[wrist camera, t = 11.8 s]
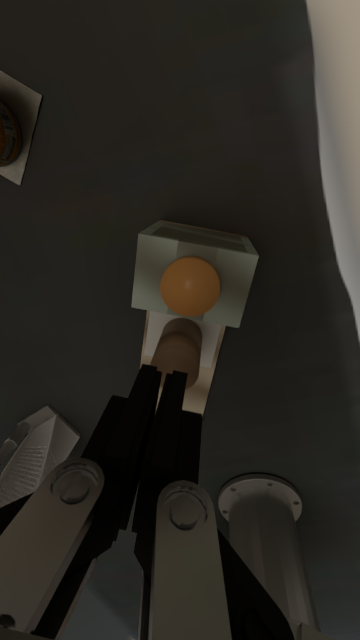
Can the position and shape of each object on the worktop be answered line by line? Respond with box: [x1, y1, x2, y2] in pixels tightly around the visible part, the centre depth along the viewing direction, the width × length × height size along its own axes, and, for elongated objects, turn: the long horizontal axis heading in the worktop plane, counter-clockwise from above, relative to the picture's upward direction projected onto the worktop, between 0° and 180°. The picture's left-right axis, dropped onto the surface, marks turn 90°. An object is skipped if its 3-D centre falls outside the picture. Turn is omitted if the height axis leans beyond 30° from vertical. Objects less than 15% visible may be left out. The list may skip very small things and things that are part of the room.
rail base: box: [131, 220, 259, 416], centre depth 31 cm, size 26×9×10 cm, turn 171°
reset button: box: [160, 256, 220, 316], centre depth 23 cm, size 4×4×3 cm
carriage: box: [144, 311, 221, 390], centre depth 28 cm, size 6×7×10 cm
